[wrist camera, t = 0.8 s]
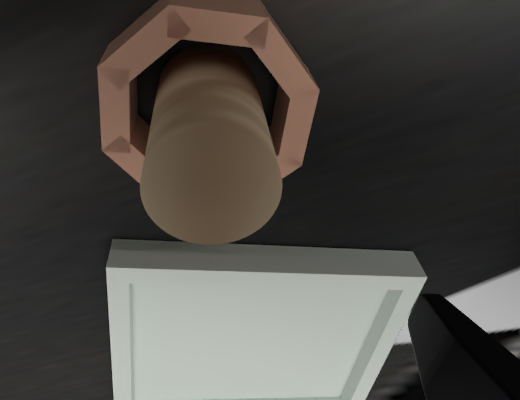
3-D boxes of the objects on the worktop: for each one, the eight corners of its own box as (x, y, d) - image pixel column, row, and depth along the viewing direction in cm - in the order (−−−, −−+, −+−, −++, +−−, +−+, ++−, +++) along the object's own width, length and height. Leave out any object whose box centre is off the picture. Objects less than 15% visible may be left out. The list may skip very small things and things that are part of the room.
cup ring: (319, 7, 17) (335, 26, 15) (282, 178, 21) (291, 210, 19) (106, -22, 16) (92, -6, 14) (113, 166, 20) (104, 200, 18)
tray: (412, 251, 25) (427, 277, 23) (347, 393, 33) (354, 420, 31) (112, 238, 22) (105, 267, 21) (119, 398, 30) (115, 427, 29)
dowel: (263, 50, 18) (294, 134, 12) (249, 140, 20) (269, 247, 14) (159, 37, 17) (139, 121, 11) (156, 133, 19) (140, 242, 14)
